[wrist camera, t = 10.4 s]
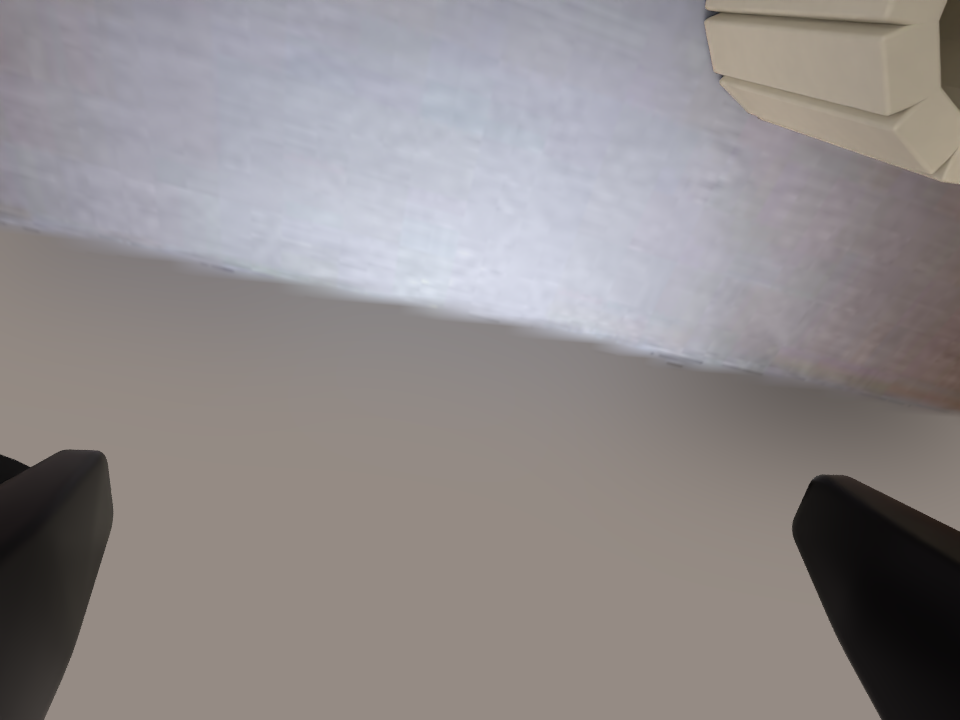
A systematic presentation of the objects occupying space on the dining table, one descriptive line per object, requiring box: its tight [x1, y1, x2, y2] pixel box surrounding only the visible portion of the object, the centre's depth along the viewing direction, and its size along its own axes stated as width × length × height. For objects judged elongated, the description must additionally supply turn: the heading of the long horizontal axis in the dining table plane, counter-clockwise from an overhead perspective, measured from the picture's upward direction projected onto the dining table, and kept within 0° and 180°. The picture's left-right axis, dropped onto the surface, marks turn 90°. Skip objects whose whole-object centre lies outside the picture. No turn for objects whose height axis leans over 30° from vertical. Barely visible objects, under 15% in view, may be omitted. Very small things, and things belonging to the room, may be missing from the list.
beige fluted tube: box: [704, 0, 960, 184], centre depth 14 cm, size 6×6×7 cm
